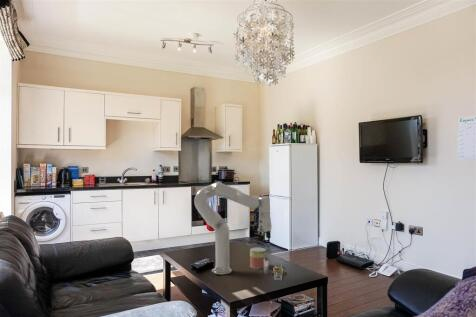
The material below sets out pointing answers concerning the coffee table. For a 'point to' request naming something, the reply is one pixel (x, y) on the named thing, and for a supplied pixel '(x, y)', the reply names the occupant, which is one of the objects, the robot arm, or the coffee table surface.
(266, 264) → the pin
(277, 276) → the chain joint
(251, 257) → the canned food
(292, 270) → the coffee table surface
